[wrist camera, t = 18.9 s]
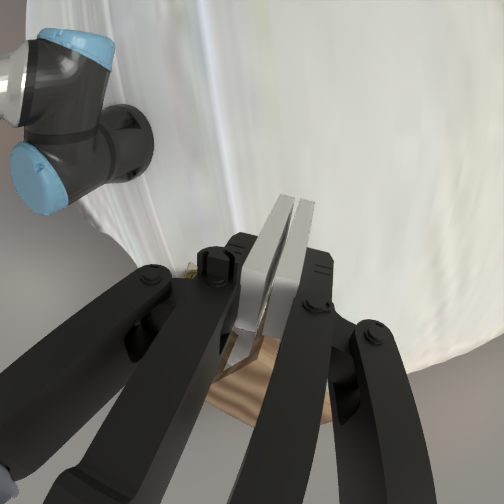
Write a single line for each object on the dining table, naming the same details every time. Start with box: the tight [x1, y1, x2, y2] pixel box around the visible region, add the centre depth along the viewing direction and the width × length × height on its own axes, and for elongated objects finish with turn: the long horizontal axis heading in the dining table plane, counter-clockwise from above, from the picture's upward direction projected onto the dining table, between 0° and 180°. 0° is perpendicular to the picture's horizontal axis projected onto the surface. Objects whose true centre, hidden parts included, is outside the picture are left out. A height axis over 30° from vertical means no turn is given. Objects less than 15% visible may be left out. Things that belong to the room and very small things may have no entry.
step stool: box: [205, 294, 332, 427], centre depth 54 cm, size 22×22×18 cm
